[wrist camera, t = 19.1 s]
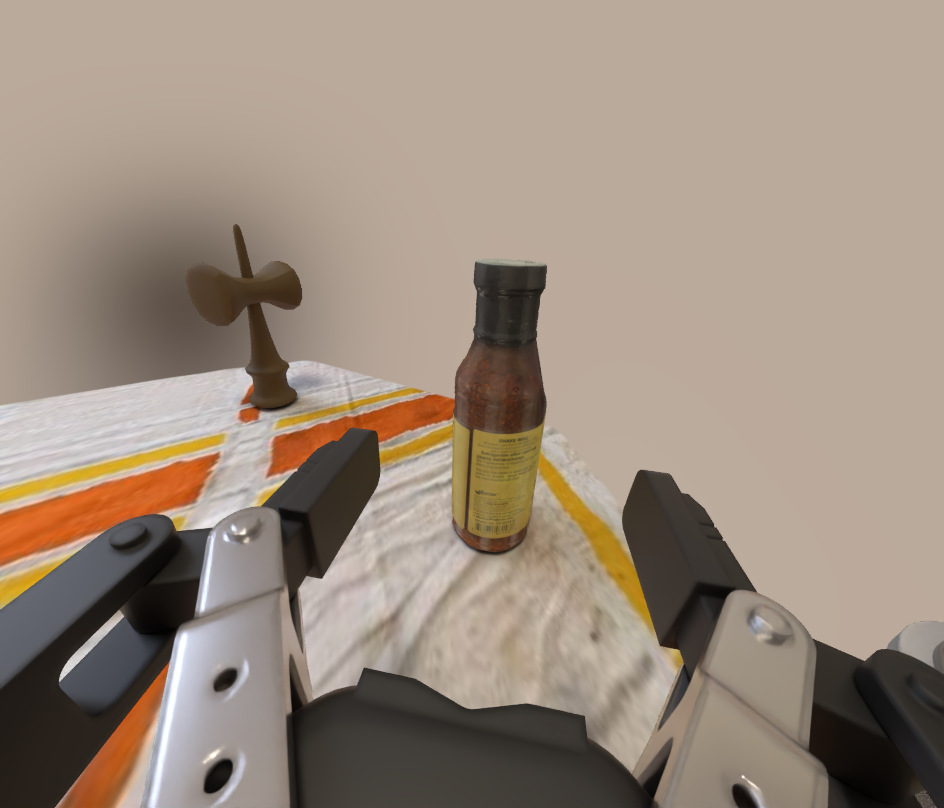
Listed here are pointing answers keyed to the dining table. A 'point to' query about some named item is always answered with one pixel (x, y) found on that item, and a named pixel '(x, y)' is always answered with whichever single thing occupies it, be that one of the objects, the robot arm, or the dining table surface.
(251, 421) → the dining table surface
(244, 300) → the kendama
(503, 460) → the sauce bottle
